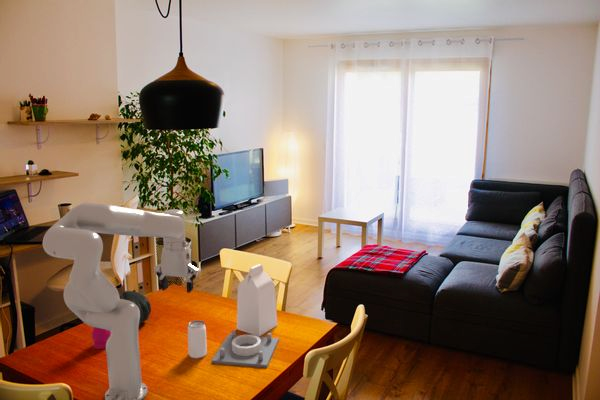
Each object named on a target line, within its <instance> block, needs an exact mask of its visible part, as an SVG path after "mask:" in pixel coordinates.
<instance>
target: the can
mask: <svg viewBox="0 0 600 400" xmlns="http://www.w3.org/2000/svg"><path fill="white" fill-rule="evenodd" d="M187 325H188V326H187V348H188V356H189V357H190V358H192V359H200V358H201V359H202V358H204V357H205V356H206V355H207V354H208V352H207V351H208V349H207V347H208V346H207V345H208V344H207V327H206V325H205V322H204V321H203V320H199V319H198V320H193V321H190V322H189V323H188V324H187Z"/></svg>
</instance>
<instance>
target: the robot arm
mask: <svg viewBox="0 0 600 400" xmlns="http://www.w3.org/2000/svg"><path fill="white" fill-rule="evenodd" d="M99 234H105V235H106V234H107V235H118V236H129V237H139V238H142V237H143V238H144V237H146V238H147V237H149V238H153V237H154V238H163V240H162V241H163V248H162V250H161V257H160V258H161V259H160V263H158V264H156V265H154V266H153V270H154V271H155V274H156V277H158V278H159V280H160V285H161V290H162V291H166V290H167V289H168V288H169V282H168V281H169V279H168V277H169V276H170V277H177V278H185V280H186V281H187V282H186V283H185V284H186V293H188V294H190V293H191V292H192V291H193V290H194V280H195V279H196V278H197V277H198V274H199V272H200V269H199V268H197V267H196V266H194V265H192V259H191V258H192V257H191V253H190V250H189V246H190V243H189V241H187V239H186V225H185V214H184V211H183V210H181V209H177V208H176V209H175V208H174V209H167V210H164V211H163V212H154V211H150V210H146V209H145V210H144V209H140V208H139V209H138V208H134V207H133V208H132V207H126V206H122V205H121V206H120V205H115V204H109V203H108V204H107V203H96V202H83V203H80V204H78V205H76V206H74V207H73V208H71V210H69V211H68V212H66V214H64V215H63V216H62V217H61V218H59V220H58V221H57V222H55V223H54V224H53V225H51V227H49V229H48V230H47V231H46V232H45V234H44V236H43V238H42V239H43V240H42V248H43V250H44V252H45V253H46V254H47V255H49V256H51V257H52V258H53V257H54V258H58V259H66V260H71V261H72V260H73V261H74V262H73V265H72V269H71V271H70V275H69V277H68V279H69V280H68V282H67V283H66V284H65V287H64V289H63V300H64V303H65V305H66V307H67V308H68V309H69V310H70V311H71V312H72V313H73V314H75V316H77V318H79V320H81V321H82V322H83V323H84V324H86V325H88V327H93V328H94V327H96V328H101V329H106V330H109V331H111V335H110V337H109V338H108V340H107V343H106V348H105V352H106V361H107V373H108V384H109V388H108V390H106V392H105V393H104V400H143V399H144V398H145V397H146V395H147V393H148V386H147V385H146V383H144V382H142V371H141V370H142V369H141V355H140V346H139V327H140V325H139V320H140V310H139V308H138V306H137V305H136V304H135V303H133V302H131V301H128V300H124V299H120V293H119V291H118V289H117V287H116V286H115V285H114V284H113V283H112V281H111V280H110V279H109V278H108V277H107V276H106V274H104V273H103V271H102V269H101V260H102V254H103V251H104V243H103V239H102V238H101V235H99ZM160 268H161V269H160ZM192 272H193V274H192Z"/></svg>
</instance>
